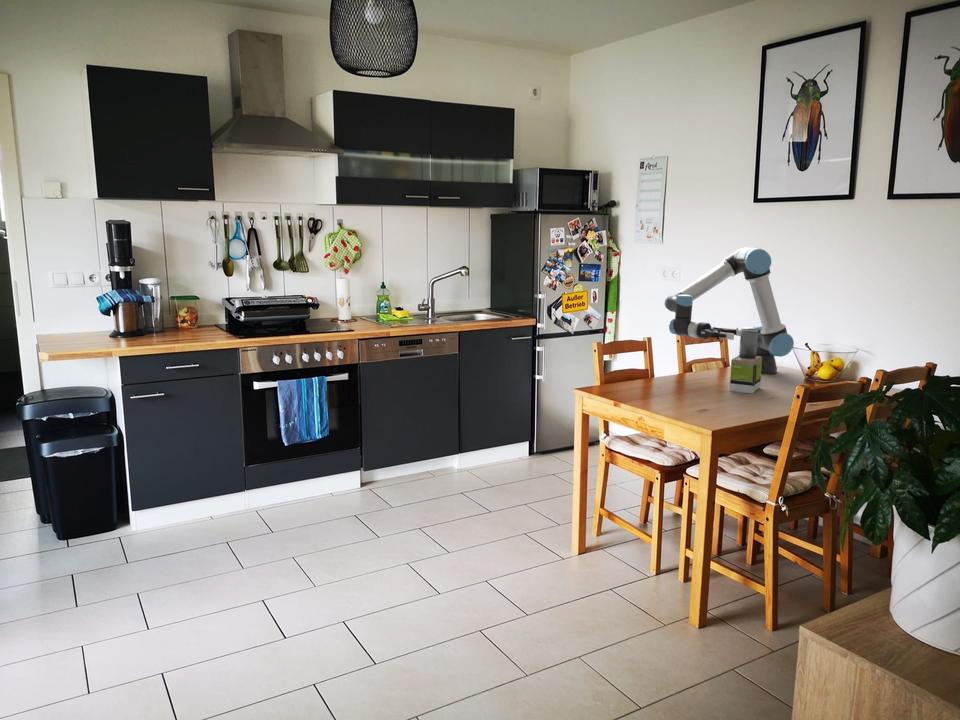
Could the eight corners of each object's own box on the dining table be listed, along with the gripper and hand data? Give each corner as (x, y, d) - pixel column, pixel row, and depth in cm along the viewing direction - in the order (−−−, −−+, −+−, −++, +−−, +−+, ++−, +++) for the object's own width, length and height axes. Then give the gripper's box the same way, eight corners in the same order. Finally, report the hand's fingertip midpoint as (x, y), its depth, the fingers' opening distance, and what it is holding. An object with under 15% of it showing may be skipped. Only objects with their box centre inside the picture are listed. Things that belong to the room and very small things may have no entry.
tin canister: (746, 355, 324) (748, 326, 322) (759, 357, 318) (761, 328, 316) (735, 356, 321) (737, 327, 319) (748, 359, 315) (750, 329, 312)
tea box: (737, 385, 331) (740, 353, 328) (760, 388, 326) (763, 356, 323) (728, 391, 319) (731, 358, 316) (752, 394, 313) (754, 361, 311)
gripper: (714, 335, 345) (755, 341, 329) (684, 340, 329) (725, 346, 313) (715, 320, 343) (757, 325, 327) (685, 324, 328) (726, 329, 312)
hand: (741, 335), depth 320 cm, fingers open, 13 cm apart
